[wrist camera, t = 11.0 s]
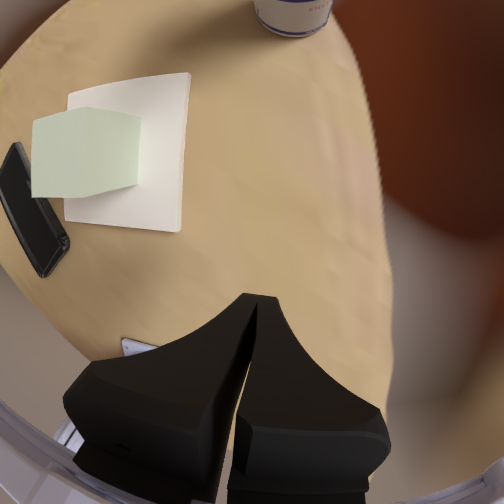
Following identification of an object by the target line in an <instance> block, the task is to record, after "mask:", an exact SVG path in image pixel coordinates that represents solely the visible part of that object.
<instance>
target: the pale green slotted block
mask: <svg viewBox="0 0 504 504" xmlns="http://www.w3.org/2000/svg"><path fill="white" fill-rule="evenodd" d="M141 121H142V117H139V116H134V115H130V114H125V113H120V112H115V111H110V110H104V109H99V108H93V107H87V106H85V107H81V108H76V109H72V110H68V111H64V112H61V113H57V114H53V115H50V116H47V117H43V118H40V119H37V120H34V121H33V132H32V149H31V190H32V197H51V198H84V197H88V196H92V195H96V194H99V193H103V192H107V191H111V190H116V189H120V188H124V187H128V186H133V185H137V184H138V169H139V148H140V133H141Z"/></svg>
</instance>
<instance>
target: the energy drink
mask: <svg viewBox="0 0 504 504" xmlns="http://www.w3.org/2000/svg"><path fill="white" fill-rule="evenodd" d="M253 2H254V6H255V10H256V14H257V17H258V19H259V21H260V22H261V23H262V25H263V26H264V27H266V28H267V29H268V30H270V31H272V32H274V33H276V34H279V35H283V36H287V37H304V36H309V35H312V34H315V33H316V32H318V31H320V30H321V29H322V28H323V27H324V26H325V25H326V23H327V21H328V18H329V14H330V10H331V6H332V3H333V0H253Z"/></svg>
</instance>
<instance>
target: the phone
mask: <svg viewBox="0 0 504 504" xmlns="http://www.w3.org/2000/svg"><path fill="white" fill-rule="evenodd" d="M0 201H1V203H2V206H3V208H4V210H5V213H6V215H7V217H8V219H9V222H10V224H11V226H12V228H13V230H14V232H15V234H16V236H17V238H18V240H19V242H20V244H21V246H22V248H23V250H24V251H25V253H26V255H27V257H28V259H29V260H30V262H31V264H32V266H33V267H34V269H35V271H36V272H37V274H38V275H39V276H40V277H41V278H46V277H47V276H49V275H50V274H51V272H52V271H53V270H54V268H55V267H56V266H57V264H58V263H59V262H60V260H61V259H62V258H63V256H64V255H65V254H66V253H67V251H68V250H69V248H70V240H69V237H68V235H67V233H66V232H65V230H64V228H63V227H62V225H61V223H60V221H59V220H58V218H57V216H56V214H55V212H54V211H53V209H52V207H51V205H50V203H49V201H48V199H47V198H46V197H32V190H31V164H30V162H29V160H28V157H27V155H26V153H25V150H24V148H23V145H22V143H20V142H16V143H13V144H12V145H11V147H10V149H9V151H8V153H7V155H6V157H5V159H4V161H3V164H2V166H1V168H0Z"/></svg>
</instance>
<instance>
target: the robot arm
mask: <svg viewBox="0 0 504 504" xmlns="http://www.w3.org/2000/svg"><path fill="white" fill-rule="evenodd" d="M122 347H123V351H124V355H125V357H119V358H113V359H106V360H99V361H92V362H91V363H90V364H89V365H88V366H87V367H86V368H85V369H84V371H83V372H82V373H81V374H80V375H79V377H78V378H77V379H76V380H75V381H74V383H73V384H72V385H71V386H70V388H69V389H68V390H67V391H66V392H65V394H64V396H63V404H64V408H65V410H66V412H67V414H68V416H67V417H66V418H65V420H64V421H63V422H62V424H61V425H60V427H59V428H58V430H57V431H56V433H55V435H54V436H53V438H51V437H49V436H48V435H46V434H45V433H44V432H42V431H41V430H39V429H38V428H36V427H35V426H34V425H32V424H31V423H30V422H28V421H27V420H26V419H24V418H23V417H22V416H20V415H19V414H18V413H17V412H15V411H14V410H13V409H12V408H11V407H9V406H8V405H7V404H6V403H5V402H3V401H2V400H1V399H0V486H1V487H2V488H3V489H4V490H5V491H6V492H7V493H8V494H9V496H11V498H13V500H15V501H16V502H17V503H18V504H215V501H216V496H217V492H218V487H219V482H220V477H221V472H222V468H223V462H224V458H225V453H226V448H227V444H228V439H229V434H230V430H231V425H232V420H233V416H234V412H235V408H236V404H237V401H238V398H239V395H240V392H241V389H242V386H243V383H244V380H245V377H246V374H247V371H248V367H249V364H250V367H249V371H248V375H247V379H246V383H245V386H244V390H243V393H242V397H241V400H240V403H239V407H238V410H237V413H236V424H235V436H234V447H233V460H232V467H231V471H230V476H229V480H228V485H227V489H228V493H227V504H366V502H365V492H367V491H368V490H369V482H368V477H369V476H370V475H371V474H372V473H373V472H374V471H375V470H376V469H377V468H378V467H379V466H380V465H381V464H382V463H383V461H384V460H385V459H386V457H387V456H388V455H389V453H390V450H391V442H390V438H389V434H388V430H387V427H386V424H385V421H384V419H383V417H382V414H381V411H380V409H379V408H377V407H375V406H374V405H372V404H370V403H368V402H367V401H365V400H363V399H361V398H360V397H358V396H356V395H355V394H353V393H352V392H350V391H349V390H347V389H346V388H345V387H343V386H342V385H341V384H339V383H338V382H337V381H335V380H334V379H333V378H332V377H331V376H329V375H328V374H327V373H326V372H325V371H324V370H323V369H322V368H321V367H320V366H319V365H318V364H317V363H316V362H315V361H314V360H313V359H312V358H311V357H310V356H309V354H308V353H307V352H306V351H305V350H304V348H303V347H302V345H301V344H300V343H299V341H298V340H297V338H296V337H295V335H294V333H293V332H292V330H291V328H290V326H289V325H288V323H287V321H286V319H285V317H284V315H283V312H282V310H281V307H280V305H279V300H278V299H277V298H276V297H272V296H264V295H256V294H249V293H243V294H241V295H240V296H239V297H238V298H237V299H236V300H235V301H234V302H233V303H231V304H230V305H229V306H228V307H227V308H226V309H224V310H223V311H222V312H221V313H220V314H218V315H217V316H216V317H215V318H213V319H212V320H210V321H209V322H207V323H206V324H205V325H203V326H202V327H200V328H199V329H197V330H195V331H194V332H192V333H190V334H188V335H186V336H184V337H182V338H180V339H178V340H175V341H173V342H170V343H168V344H165V345H163V346H160V347H156V346H152V345H148V344H144V343H140V342H137V341H133V340H130V339H126V338H124V339H123V340H122ZM250 361H251V363H250ZM393 504H504V456H503V457H502V458H500V459H498V460H497V461H496V462H494V463H493V464H492V465H491V466H489V467H488V468H487V469H486V470H485V471H484V472H483V474H480V475H478V476H476V477H474V478H471V479H469V480H467V481H464V482H462V483H460V484H457V485H454V486H452V487H449V488H446V489H443V490H440V491H438V492H434V493H431V494H428V495H424V496H421V497H417V498H413V499H410V500H406V501H401V502H397V503H393Z"/></svg>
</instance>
